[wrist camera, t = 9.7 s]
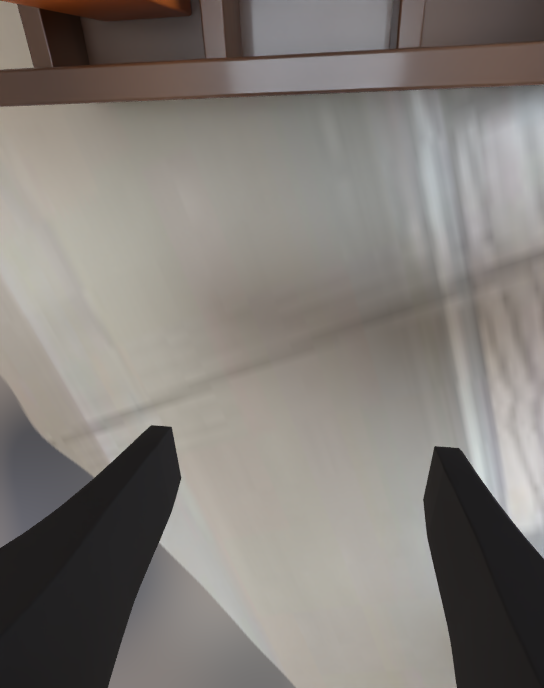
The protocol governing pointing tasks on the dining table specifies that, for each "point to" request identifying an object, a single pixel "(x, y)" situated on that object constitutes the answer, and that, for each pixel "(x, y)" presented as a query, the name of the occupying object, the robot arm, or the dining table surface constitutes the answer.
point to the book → (113, 8)
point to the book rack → (278, 50)
